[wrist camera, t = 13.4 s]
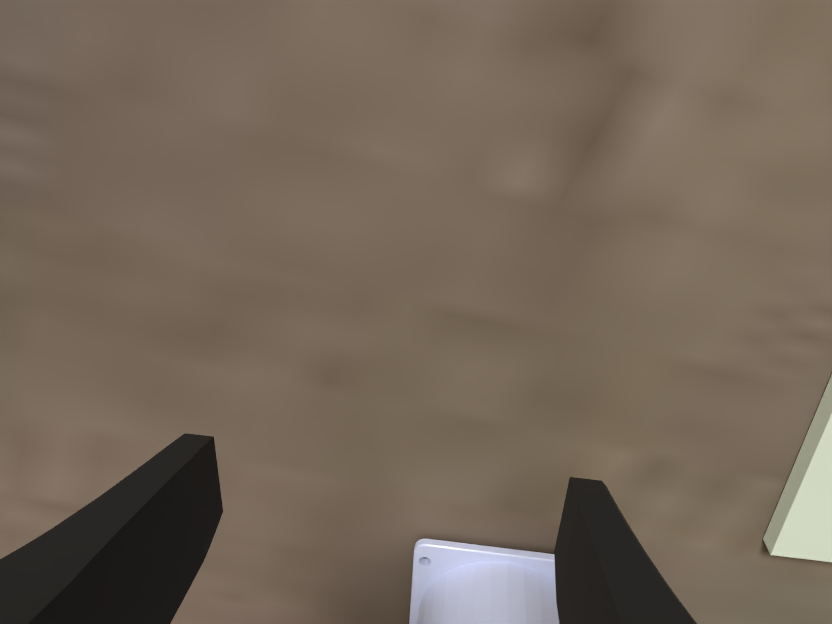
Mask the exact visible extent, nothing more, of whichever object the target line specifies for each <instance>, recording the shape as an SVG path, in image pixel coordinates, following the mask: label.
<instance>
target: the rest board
mask: <svg viewBox="0 0 832 624" xmlns="http://www.w3.org/2000/svg"><path fill="white" fill-rule="evenodd" d="M763 540H764V542H765V544H766V546H767V548H768V551H769V553H770V555H776V556H784V557H792V558H801V559H809V560H817V561H826V562H832V375H831V377H830V380H829V382H828V385H827V387H826V389H825V392H824V394H823V397H822V399H821V401H820V404H819V406H818V409H817V411H816V413H815V416H814V418H813V421H812V423H811V425H810V428H809V430H808V433H807V435H806V437H805V440H804V442H803V444H802V447H801V449H800V452H799V454H798V456H797V459H796V461H795V464H794V466H793V468H792V471H791V473H790V476H789V478H788V480H787V483H786V485H785V488H784V490H783V492H782V495H781V497H780V500H779V502H778V504H777V507H776V509H775V512H774V514H773V516H772V519H771V521H770V524H769V526H768V528H767V531H766V533H765V535H764V538H763Z"/></svg>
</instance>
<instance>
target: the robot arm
mask: <svg viewBox="0 0 832 624" xmlns="http://www.w3.org/2000/svg"><path fill="white" fill-rule="evenodd" d="M222 513H223V507H222V499H221V491H220V483H219V476H218V468H217V460H216V452H215V444H214V437H212V436H203V435H194V434H184V435H182V436H181V437H179V438H178V439H177V440H175V441H174V442H173V443H171V444H170V445H169V446H167V447H166V448H165V449H163V450H162V451H161V452H159V453H158V454H157V455H155V456H154V457H153V458H151V459H150V460H149V461H147V462H146V463H145V464H143V465H142V466H141V467H139V468H138V469H137V470H135V471H134V472H133V473H131V474H130V475H129V476H127V477H126V478H124V479H123V480H122V481H120V482H119V483H118V484H116V485H115V486H113V487H112V488H111V489H109V490H108V491H107V492H105V493H104V494H103V495H101V496H100V497H98V498H97V499H95V500H94V501H92V502H91V503H89V504H88V505H86V506H85V507H83V508H82V509H80V510H79V511H77V512H76V513H74V514H73V515H72V516H70V517H69V518H67V519H66V520H64V521H63V522H61V523H60V524H58V525H57V526H55V527H54V528H52V529H51V530H49V531H47V532H46V533H44V534H43V535H41V536H39V537H38V538H36V539H35V540H33V541H31V542H30V543H28V544H26V545H25V546H23V547H21V548H19V549H18V550H16V551H14V552H12V553H11V554H9V555H7V556H5V557H4V558H2V559H0V624H170V623H171V621H172V619H173V617H174V616H175V614H176V612H177V610H178V608H179V606H180V604H181V603H182V601H183V599H184V597H185V595H186V593H187V591H188V590H189V588H190V586H191V584H192V582H193V580H194V578H195V576H196V574H197V573H198V571H199V569H200V567H201V565H202V563H203V561H204V559H205V557H206V554H207V552H208V549H209V547H210V544H211V542H212V539H213V537H214V534H215V532H216V529H217V526H218V523H219V521H220V518H221V515H222ZM422 557H426V559H425V558H422ZM409 624H697V623H696V622H695V621H694V619H693V618H692V617H691V615H690V614H689V613H688V611H687V610H686V609H685V607H684V606H683V605H682V603H681V602H680V601H679V599H678V598H677V597H676V595H675V594H674V593H673V591H672V590H671V588H670V587H669V586H668V584H667V583H666V581H665V580H664V579H663V577H662V576H661V574H660V573H659V571H658V570H657V568H656V567H655V565H654V564H653V562H652V561H651V559H650V558H649V556H648V555H647V553H646V552H645V550H644V549H643V547H642V546H641V544H640V543H639V541H638V539H637V538H636V536H635V535H634V533H633V531H632V530H631V528H630V526H629V525H628V523H627V522H626V520H625V518H624V516H623V515H622V513H621V511H620V510H619V508H618V506H617V504H616V503H615V501H614V499H613V497H612V496H611V494H610V492H609V490H608V488H607V487H606V485H605V484H604V483H603V482H602V481H599V480H590V479H582V478H573V477H570V479H569V484H568V489H567V494H566V499H565V503H564V508H563V513H562V518H561V522H560V527H559V532H558V537H557V542H556V546H555V551H554V554H548V553H540V552H532V551H523V550H515V549H507V548H499V547H491V546H483V545H475V544H467V543H458V542H450V541H442V540H434V539H420V540H418V541H417V542H416V544H415V548H414V560H413V575H412V590H411V606H410V621H409Z"/></svg>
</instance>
